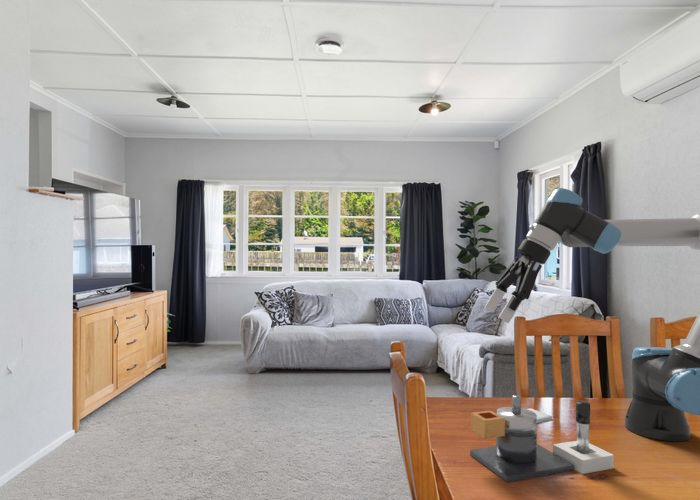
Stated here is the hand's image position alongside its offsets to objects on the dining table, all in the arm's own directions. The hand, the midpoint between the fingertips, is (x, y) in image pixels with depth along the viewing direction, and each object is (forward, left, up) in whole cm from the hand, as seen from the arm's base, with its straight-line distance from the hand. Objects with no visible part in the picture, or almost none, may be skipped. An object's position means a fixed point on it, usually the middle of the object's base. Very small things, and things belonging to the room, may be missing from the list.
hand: (495, 315), depth 121 cm
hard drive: (-19, -11, -33) cm, 40 cm away
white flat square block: (-12, +17, -33) cm, 39 cm away
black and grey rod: (-12, +17, -33) cm, 39 cm away
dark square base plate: (+2, +12, -33) cm, 35 cm away
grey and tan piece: (+5, +11, -25) cm, 28 cm away
